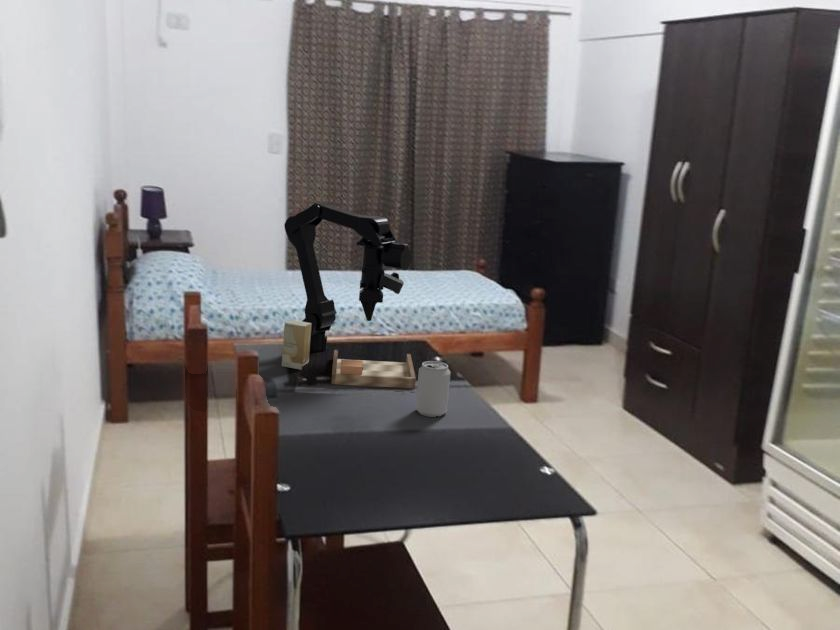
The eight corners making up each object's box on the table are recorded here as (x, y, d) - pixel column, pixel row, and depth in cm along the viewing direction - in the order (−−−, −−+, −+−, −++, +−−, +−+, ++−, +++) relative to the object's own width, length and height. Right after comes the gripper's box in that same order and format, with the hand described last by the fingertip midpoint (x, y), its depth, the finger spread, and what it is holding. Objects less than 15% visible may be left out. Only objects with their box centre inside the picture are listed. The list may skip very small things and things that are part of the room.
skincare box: (281, 366, 229) (282, 322, 226) (288, 362, 233) (290, 319, 230) (303, 370, 227) (305, 325, 224) (309, 366, 231) (312, 322, 228)
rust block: (339, 382, 215) (340, 365, 214) (340, 376, 220) (341, 359, 219) (361, 384, 215) (362, 367, 214) (361, 377, 221) (362, 360, 220)
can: (410, 408, 204) (413, 360, 202) (438, 406, 208) (442, 358, 205) (423, 419, 198) (427, 369, 195) (452, 416, 201) (456, 367, 198)
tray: (331, 388, 214) (331, 374, 213) (333, 363, 235) (334, 350, 235) (414, 392, 216) (415, 378, 215) (409, 366, 237) (410, 354, 236)
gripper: (404, 272, 220) (399, 331, 224) (401, 260, 238) (397, 314, 242) (361, 269, 219) (357, 328, 223) (361, 257, 237) (358, 311, 241)
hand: (368, 320), depth 232 cm, fingers closed
